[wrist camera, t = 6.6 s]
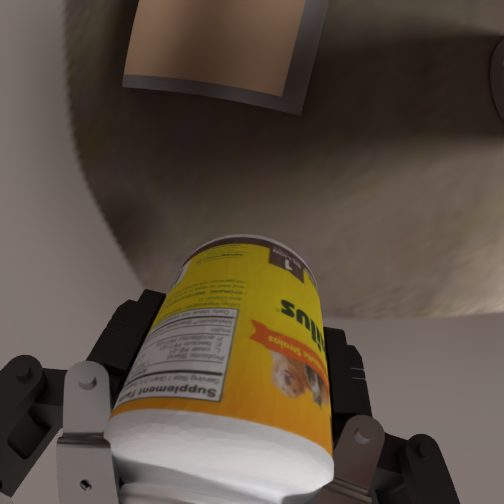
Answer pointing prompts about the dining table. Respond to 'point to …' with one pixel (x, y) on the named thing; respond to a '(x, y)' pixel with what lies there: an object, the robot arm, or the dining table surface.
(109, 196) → the dining table surface
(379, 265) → the dining table surface
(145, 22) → the pedestal
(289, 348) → the supplement bottle
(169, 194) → the dining table surface
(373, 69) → the dining table surface
